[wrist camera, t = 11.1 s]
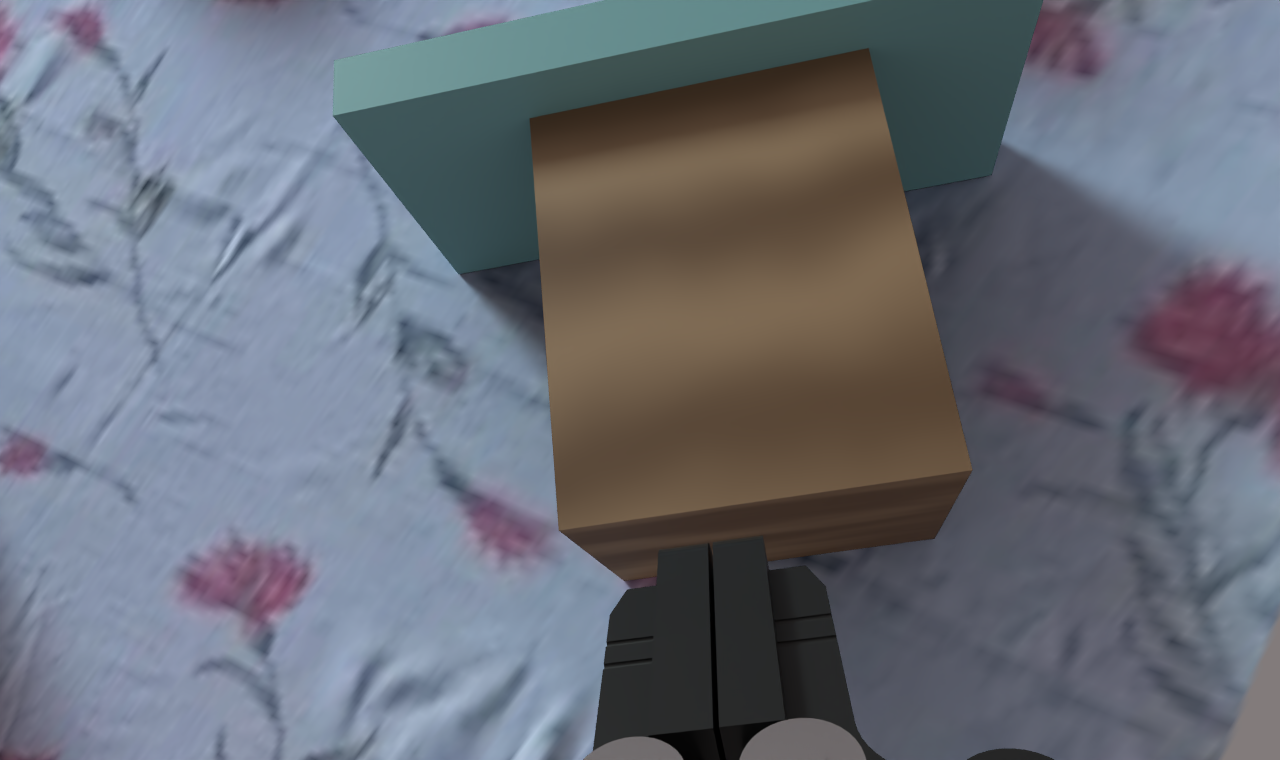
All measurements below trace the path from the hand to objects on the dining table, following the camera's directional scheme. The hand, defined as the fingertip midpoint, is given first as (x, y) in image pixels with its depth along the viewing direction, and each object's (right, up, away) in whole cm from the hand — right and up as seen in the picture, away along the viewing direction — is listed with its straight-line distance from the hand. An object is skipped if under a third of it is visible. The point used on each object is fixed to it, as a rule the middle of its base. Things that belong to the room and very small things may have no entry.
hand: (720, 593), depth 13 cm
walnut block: (+3, +3, +26) cm, 26 cm away
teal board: (+2, +11, +29) cm, 31 cm away
